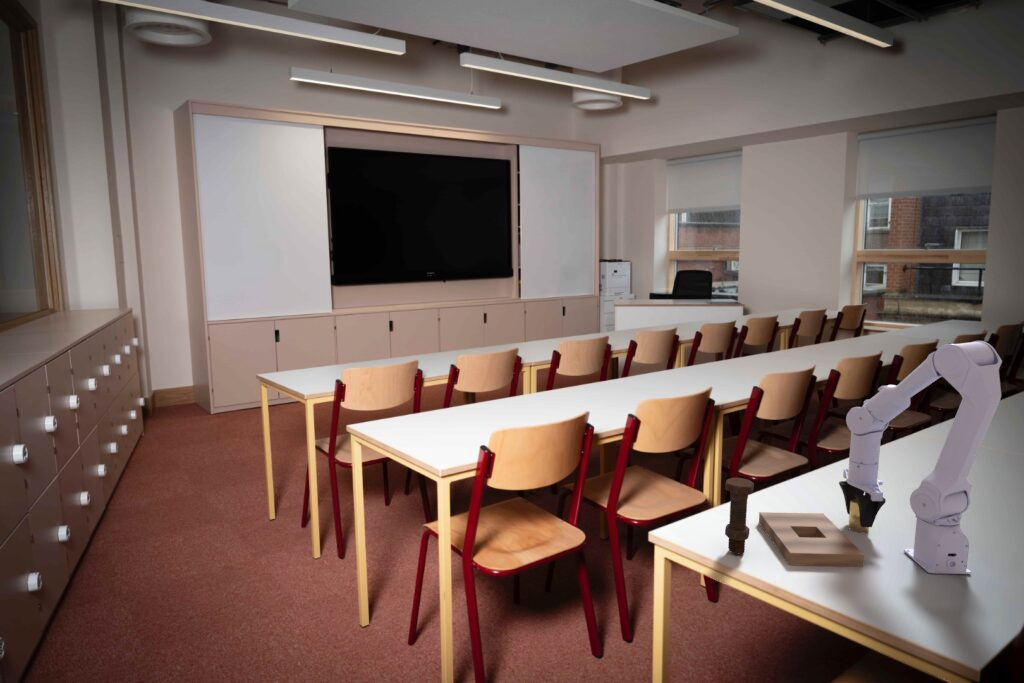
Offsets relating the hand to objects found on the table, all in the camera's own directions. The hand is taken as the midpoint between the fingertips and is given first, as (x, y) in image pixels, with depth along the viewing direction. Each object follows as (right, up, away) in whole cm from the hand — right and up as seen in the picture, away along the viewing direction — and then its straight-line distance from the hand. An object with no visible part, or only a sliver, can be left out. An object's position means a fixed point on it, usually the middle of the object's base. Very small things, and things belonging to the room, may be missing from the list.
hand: (859, 520), depth 150 cm
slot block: (-14, -3, -7) cm, 16 cm away
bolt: (-31, -4, -11) cm, 33 cm away
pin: (0, -2, 0) cm, 2 cm away
